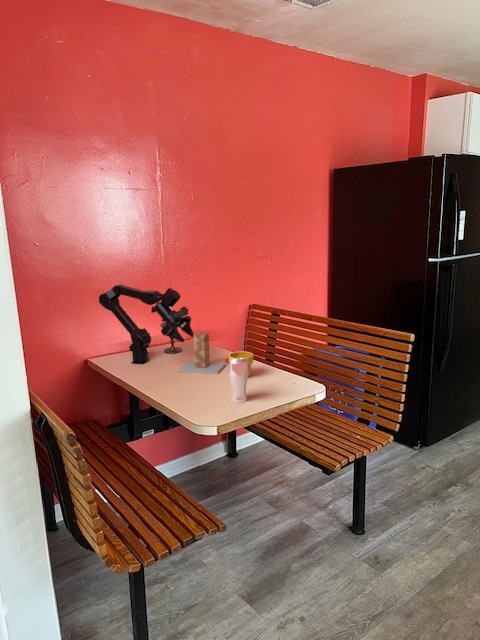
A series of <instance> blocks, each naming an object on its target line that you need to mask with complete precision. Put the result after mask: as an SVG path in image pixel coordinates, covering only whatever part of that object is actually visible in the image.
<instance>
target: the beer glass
mask: <svg viewBox="0 0 480 640" xmlns="http://www.w3.org/2000/svg"><path fill="white" fill-rule="evenodd" d="M228 375H229V381H230V386H231V397H230V400H231V401H232V402H234V403H244V402H246V401H248V394H247V384H248V378H249V377H248V366H247V360H246V359H242V358H235V359H231V360H230V361H229V363H228Z"/></svg>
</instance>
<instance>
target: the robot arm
mask: <svg viewBox="0 0 480 640" xmlns="http://www.w3.org/2000/svg"><path fill="white" fill-rule="evenodd" d="M121 296H125V297H128V298H133V299H136V300H139V301H141V302H142V303H144V304H146V305H148V306H151V312H150V313H152V314H154V313H157V314H158V315H159V316H160V318H161V323H164V322H166V323H167V324H166V325H165V326H164V327H163V328H162V329H161V331H160V333H161V334H162V336H163V337H164V336H166V337H168V338H169V337H171V338H174V340H176V341H179V342H181V343H184V342H185V339H184V337H183V336H182V334H180V332H179V331H178V328H180V330H181V331H182V332H184V333H186V335H188V336H190V337H191V338H194V336H193V335H194V334H195V333H194V332H193V329H192V326H191V322H192V317H191V316H190V315H189V309H188V308H187V307H186V306H184V305H183V306H182V307H180V308H179V309H180V310H177V311H176V310H174V309H172V310H171V309H170V307H172V308H173V307H174V305H176V303H178V302H179V300H180V299H181V294H180V293H179V292H178V291H177V290H175V289H173V288H172V287H170V288H169V287H168V288H167V289H166V290H165V292H164V293H161V292H160V291H158V290H152V289H151V290H148V289H147V290H142V289H139V288H135V287H132V286H131V287H130V286H127V285H123V284H117V285H114V286H113V287H112V288H110V289H108V290H107V291H106V292H104V293H101V294H99V296H98V303H99V304H100V305H101V306H102V307H103V308H104V309H106V310H107V311H110V312H111V313H112V314H113V315H114V316H115V317H116V319H117V320H118V321H119V323H120V324H121V325H122V326H123V328H125V330H126V331H127V332H128V334H129V336H130V339H131V340H130V341H131V342H132V343H131V344H130V345H129V346H128V348H129V351H130V352H131V353H132V361H131V362H130V363H131V364H139V365H140V364H141V365H144V364H146V363H147V362H149V361H150V358H149V352H148V348H150V347H149V346H150V344H151V343H152V337H151V333H149V332H148V330H147V329H146V328H145V327H144V328H140V327H139V326H138V325H137V324H136V323H135V322H134V321H133V319H132V318H131V317H130V316H129V314H128V313H127V312H126V311H125V310H124V309H123V307H122V306H121V303H120V299H119V298H120V297H121ZM152 305H154V306H152Z"/></svg>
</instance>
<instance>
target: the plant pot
mask: <svg viewBox="0 0 480 640" xmlns="http://www.w3.org/2000/svg"><path fill="white" fill-rule="evenodd" d="M228 358H229V361H230V360H231V359H235V358H242V359H246V360H247V366H248V378H249V377H250V373H251V368H252V364H254V353H252V352H249V351H245V350H244V351H241V350H240V351H239V350H238V351H232V352H230V353H229V354H228Z"/></svg>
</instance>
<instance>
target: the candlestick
mask: <svg viewBox="0 0 480 640" xmlns="http://www.w3.org/2000/svg"><path fill="white" fill-rule="evenodd" d="M171 285H172V284H171V283H169V285H168V288H171ZM170 309H171V310H172V311H173V307H170ZM166 324H167V323H166V322H165V321H164V322H161V323H160V324H159V325H160V326H159V327H160V328H162V329H163V327H164V326H165V325H166ZM168 338H169V340H170V341H169V343H170V347H167V348H164V349H163V353H165V354H167V355H174V354H179V353H182V351H183V349H182V348H181V347H178V346H177V347H176V346H175V344H174V343H175V342H176V341H175V339H174V338H171V337H168Z"/></svg>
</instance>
